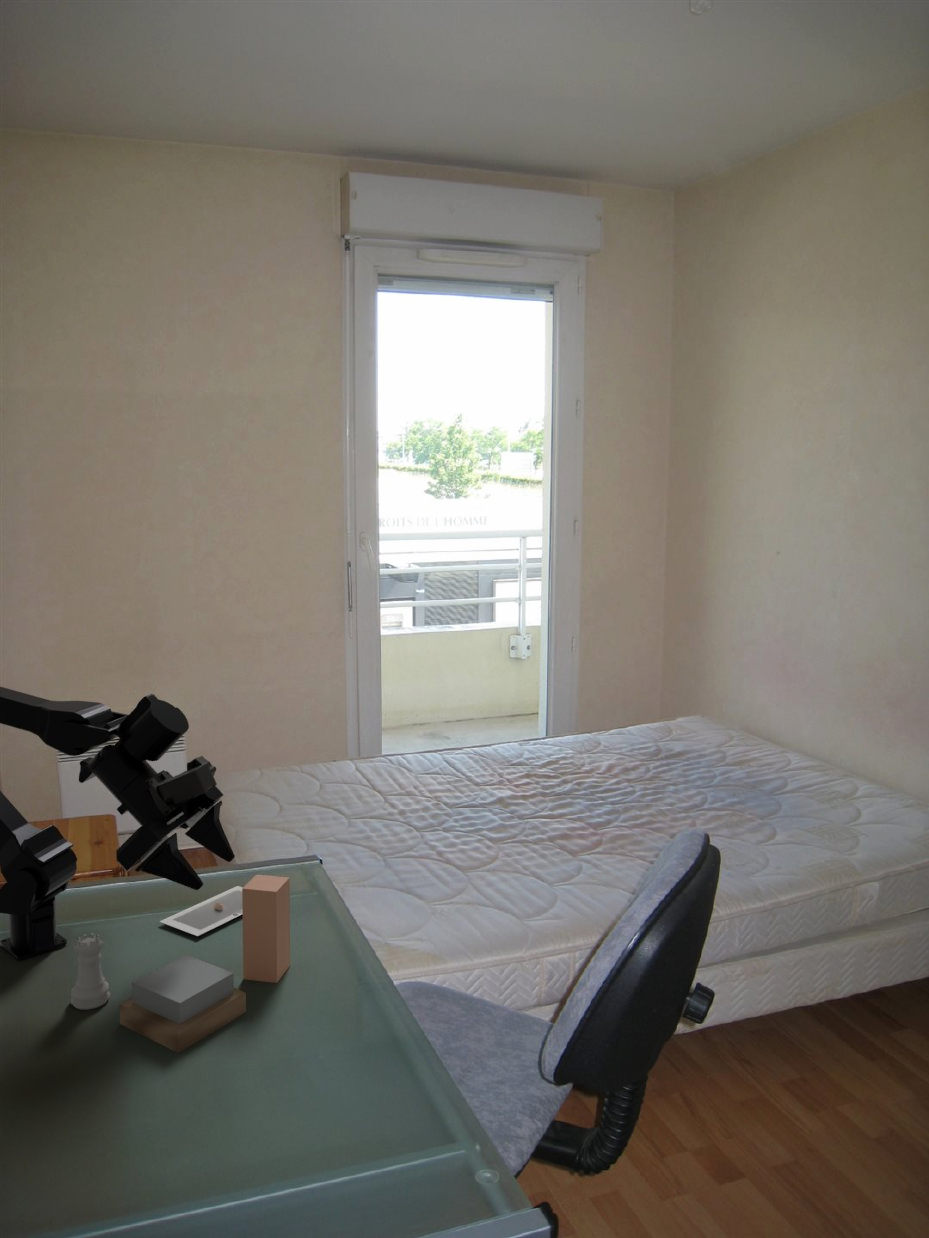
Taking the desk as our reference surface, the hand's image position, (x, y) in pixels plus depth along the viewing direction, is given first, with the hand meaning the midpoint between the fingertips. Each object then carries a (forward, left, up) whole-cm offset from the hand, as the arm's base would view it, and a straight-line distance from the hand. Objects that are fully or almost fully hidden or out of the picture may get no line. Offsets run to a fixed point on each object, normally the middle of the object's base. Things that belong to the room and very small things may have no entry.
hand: (217, 872), depth 119 cm
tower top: (+8, -9, -10) cm, 16 cm away
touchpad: (-14, +9, -13) cm, 21 cm away
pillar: (+6, +4, -13) cm, 14 cm away
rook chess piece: (-3, -15, -13) cm, 20 cm away
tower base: (+8, -9, -13) cm, 18 cm away
